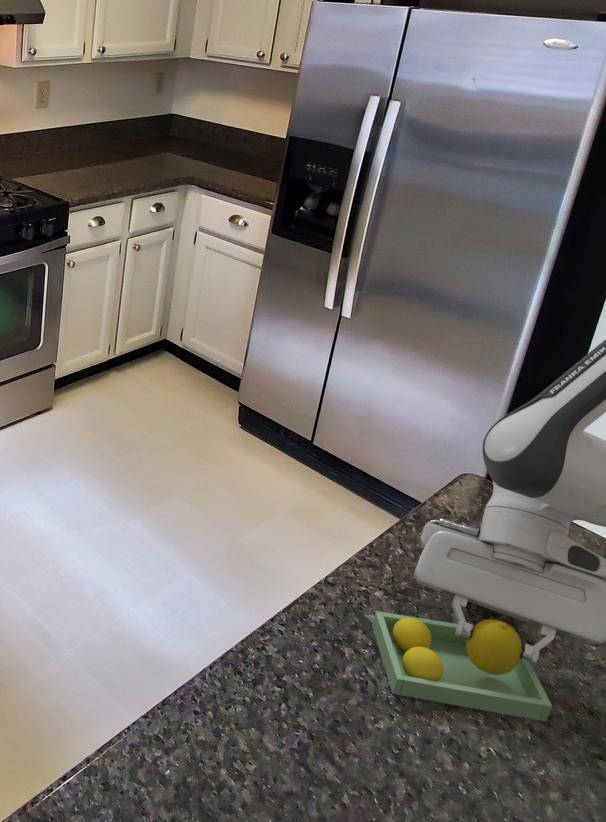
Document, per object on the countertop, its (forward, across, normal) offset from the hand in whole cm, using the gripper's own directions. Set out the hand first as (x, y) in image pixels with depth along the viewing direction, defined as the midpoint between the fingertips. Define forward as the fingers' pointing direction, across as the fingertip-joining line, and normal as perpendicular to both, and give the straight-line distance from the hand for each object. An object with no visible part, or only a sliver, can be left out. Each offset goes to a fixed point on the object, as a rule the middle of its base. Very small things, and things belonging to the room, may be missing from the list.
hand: (494, 648), depth 98 cm
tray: (+4, -3, +4) cm, 7 cm away
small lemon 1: (+3, -8, +4) cm, 10 cm away
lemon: (+3, 0, +4) cm, 5 cm away
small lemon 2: (+7, -7, 0) cm, 10 cm away
